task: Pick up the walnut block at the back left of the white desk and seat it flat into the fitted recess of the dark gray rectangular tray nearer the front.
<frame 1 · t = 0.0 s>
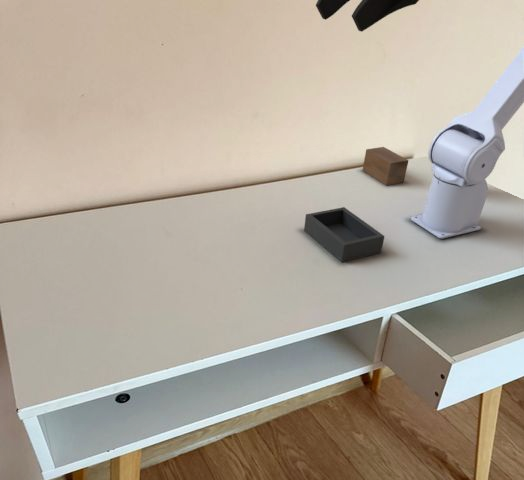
hand: (337, 18, 66), 32 cm above the table, tool tilted 50°, fingers open, 7 cm apart
battery charger: (459, 193, 110), on the table
dark gray rectangular tray: (341, 241, 91), on the table
walnut block: (382, 176, 113), on the table
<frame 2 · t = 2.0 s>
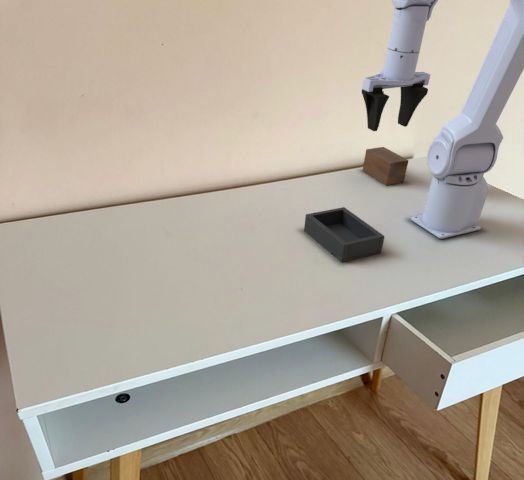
hand: (387, 127, 107), 10 cm above the table, tool pointing down, fingers open, 7 cm apart
nothing on the table moved.
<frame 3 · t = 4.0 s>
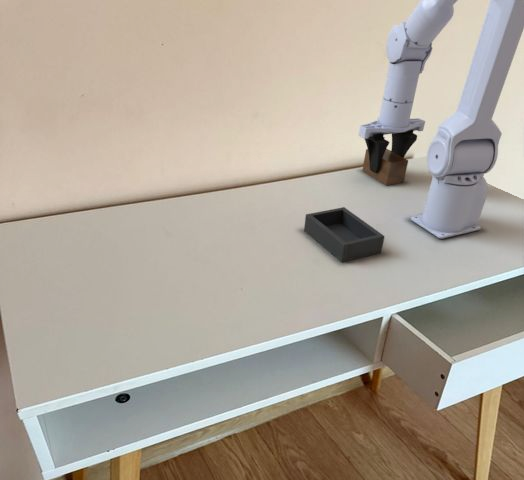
hand: (384, 169, 113), 1 cm above the table, tool pointing down, fingers closed on walnut block, 4 cm apart
walnut block: (382, 176, 113), on the table, touching gripper
everything else where it was.
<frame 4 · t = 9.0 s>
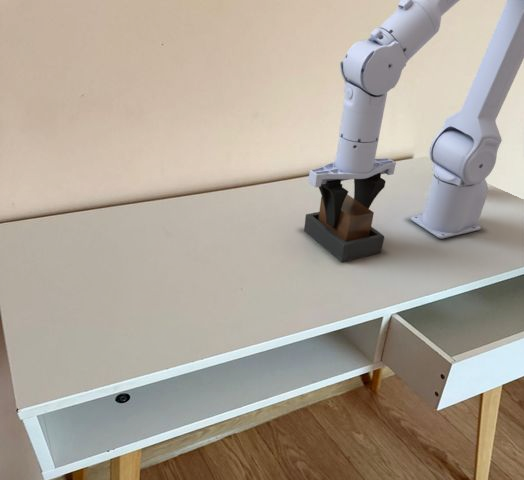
hand: (344, 222, 88), 3 cm above the table, tool pointing down, fingers closed on walnut block, 4 cm apart
walnut block: (342, 230, 89), point 2 cm above the table, touching gripper
everything else where it was.
when the fingers open (3 cm above the table, at t = 13.9 s): walnut block drops 1 cm, resting on dark gray rectangular tray.
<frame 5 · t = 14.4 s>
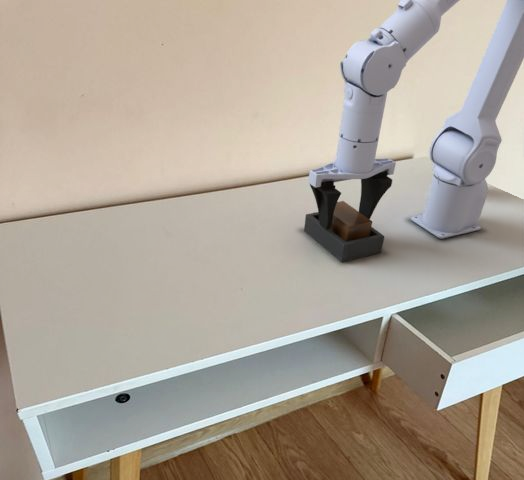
hand: (344, 222, 88), 3 cm above the table, tool pointing down, fingers open, 7 cm apart
walnut block: (341, 238, 90), resting on dark gray rectangular tray
everything else where it was.
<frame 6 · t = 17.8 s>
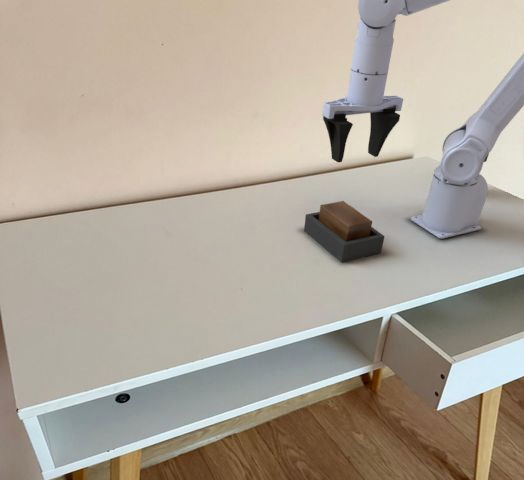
hand: (355, 157, 94), 9 cm above the table, tool pointing down, fingers open, 7 cm apart
nothing on the table moved.
at the end: walnut block 0.1 cm off-centre in the dark gray rectangular tray, point 0.5 cm above the dark gray rectangular tray's base; walnut block tilted 0° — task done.
